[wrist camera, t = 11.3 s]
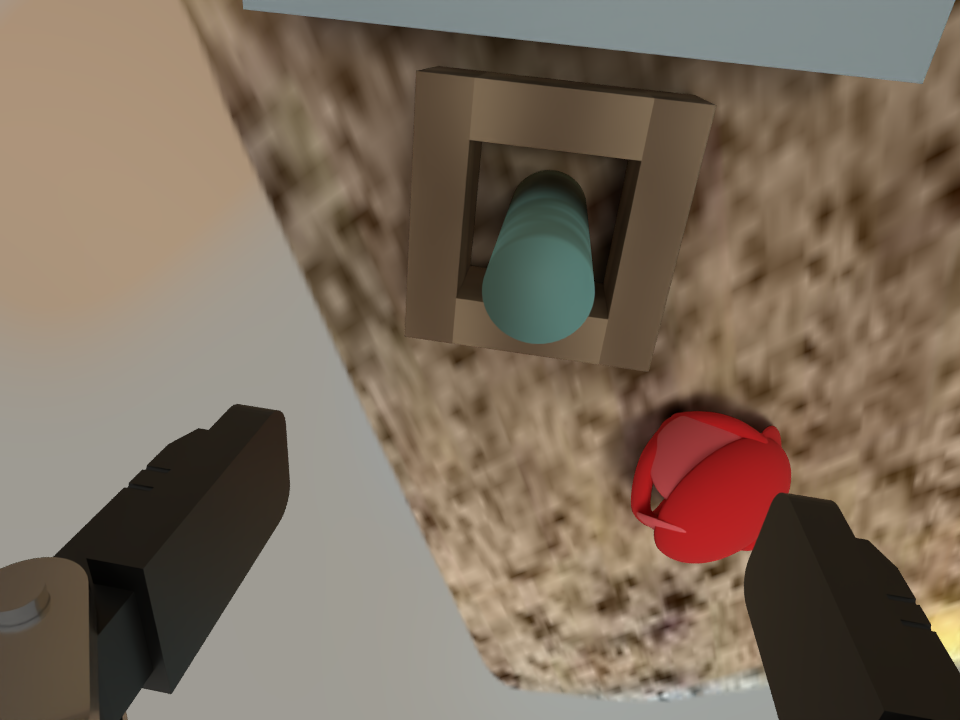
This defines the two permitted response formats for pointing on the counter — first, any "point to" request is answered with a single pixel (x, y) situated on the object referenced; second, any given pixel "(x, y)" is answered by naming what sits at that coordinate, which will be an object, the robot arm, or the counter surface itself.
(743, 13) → the wall
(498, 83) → the holed block
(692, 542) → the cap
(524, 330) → the dowel
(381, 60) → the counter surface
